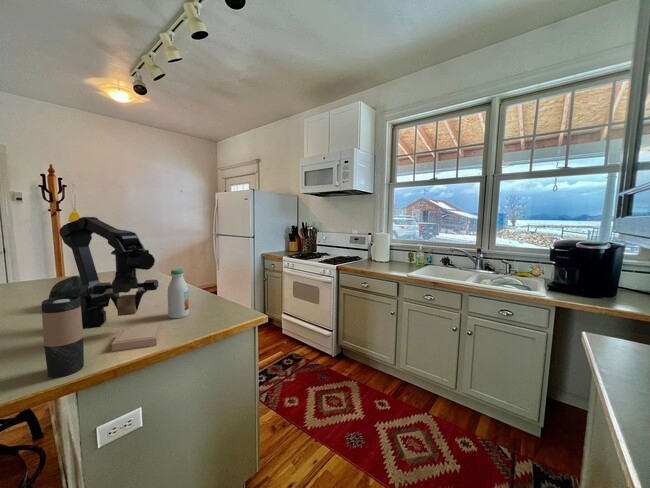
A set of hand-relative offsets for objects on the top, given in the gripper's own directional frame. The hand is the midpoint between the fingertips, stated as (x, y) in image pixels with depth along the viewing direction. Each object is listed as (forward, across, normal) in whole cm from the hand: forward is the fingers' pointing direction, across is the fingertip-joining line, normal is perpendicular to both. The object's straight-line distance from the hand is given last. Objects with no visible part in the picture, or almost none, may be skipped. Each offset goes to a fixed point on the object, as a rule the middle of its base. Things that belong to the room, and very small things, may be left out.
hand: (128, 309), depth 98 cm
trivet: (+8, +5, -9) cm, 13 cm away
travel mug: (+9, -9, -23) cm, 26 cm away
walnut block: (+1, 0, 0) cm, 1 cm away
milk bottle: (+9, +15, +12) cm, 21 cm away
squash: (+8, -30, +40) cm, 51 cm away
